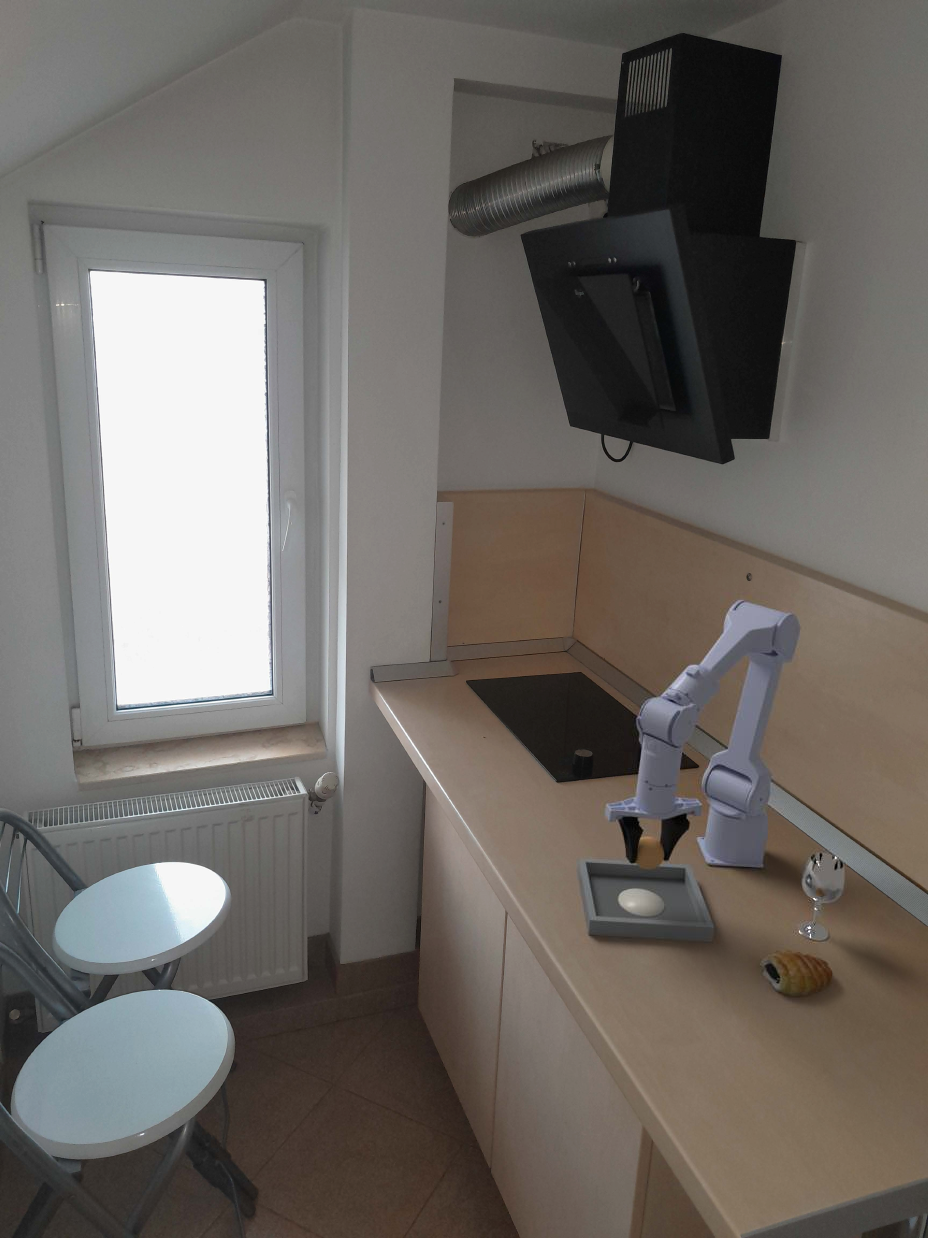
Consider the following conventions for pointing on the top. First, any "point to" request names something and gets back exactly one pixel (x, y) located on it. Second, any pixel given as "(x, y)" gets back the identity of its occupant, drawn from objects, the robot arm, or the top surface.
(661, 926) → the grey serving tray
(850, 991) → the top surface
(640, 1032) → the top surface
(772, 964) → the pastry
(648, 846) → the ball
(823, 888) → the wineglass
